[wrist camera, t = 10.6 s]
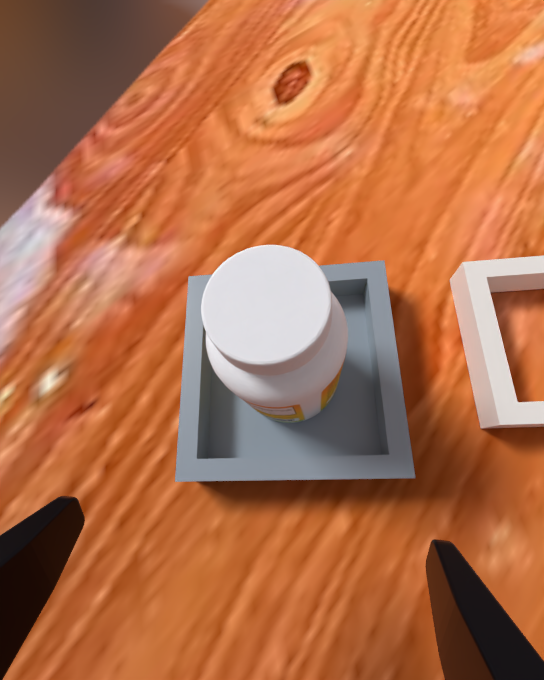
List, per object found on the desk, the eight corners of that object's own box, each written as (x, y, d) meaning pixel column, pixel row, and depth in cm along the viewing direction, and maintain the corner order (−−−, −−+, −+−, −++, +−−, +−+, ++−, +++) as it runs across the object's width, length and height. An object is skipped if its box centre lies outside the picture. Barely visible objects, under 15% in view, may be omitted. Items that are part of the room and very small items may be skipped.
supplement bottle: (309, 314, 20) (302, 197, 11) (357, 394, 19) (395, 333, 9) (227, 356, 20) (153, 271, 11) (267, 442, 18) (218, 425, 9)
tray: (402, 475, 18) (415, 478, 15) (192, 478, 19) (175, 481, 16) (376, 282, 21) (384, 260, 19) (202, 295, 22) (188, 276, 20)
